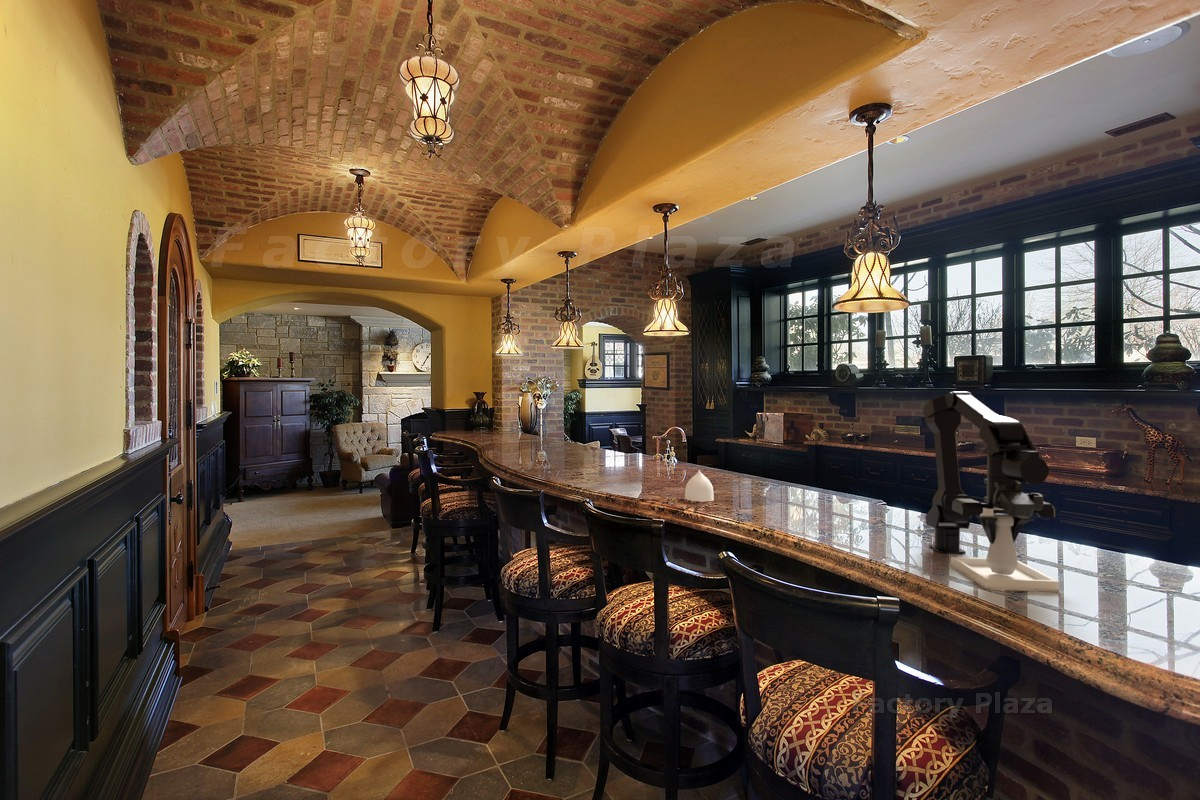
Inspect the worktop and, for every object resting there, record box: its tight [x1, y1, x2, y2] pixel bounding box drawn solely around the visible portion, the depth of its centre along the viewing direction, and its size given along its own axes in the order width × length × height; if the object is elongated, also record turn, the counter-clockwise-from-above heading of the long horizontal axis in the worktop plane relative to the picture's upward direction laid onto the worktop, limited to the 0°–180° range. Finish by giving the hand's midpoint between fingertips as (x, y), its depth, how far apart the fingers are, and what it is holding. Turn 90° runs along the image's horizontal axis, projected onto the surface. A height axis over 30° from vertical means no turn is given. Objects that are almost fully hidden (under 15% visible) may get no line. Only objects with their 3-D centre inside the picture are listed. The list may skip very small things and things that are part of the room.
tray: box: [950, 556, 1060, 593], centre depth 130 cm, size 16×14×2 cm
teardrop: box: [684, 469, 715, 502], centre depth 221 cm, size 11×11×12 cm
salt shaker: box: [986, 512, 1019, 575], centre depth 130 cm, size 6×6×13 cm
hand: (1001, 545), depth 130 cm, fingers closed on salt shaker, 3 cm apart
